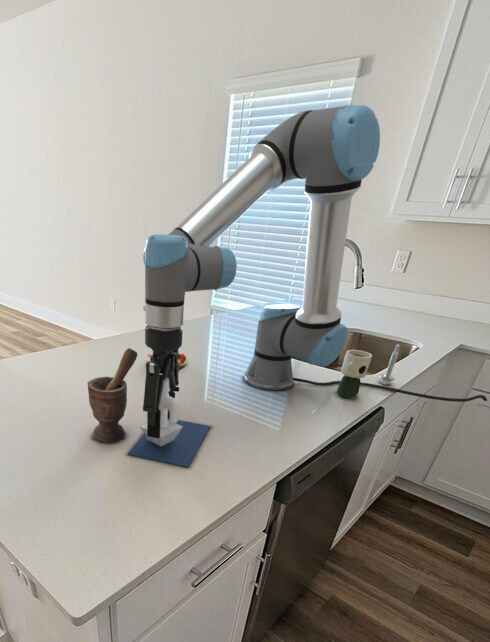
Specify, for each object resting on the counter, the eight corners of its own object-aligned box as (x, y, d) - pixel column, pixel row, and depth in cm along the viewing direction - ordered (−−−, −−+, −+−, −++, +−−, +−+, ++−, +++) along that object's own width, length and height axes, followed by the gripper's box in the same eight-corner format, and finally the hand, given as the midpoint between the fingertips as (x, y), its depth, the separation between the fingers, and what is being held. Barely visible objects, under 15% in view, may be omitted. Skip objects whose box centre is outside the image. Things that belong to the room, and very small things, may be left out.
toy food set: (173, 373, 132) (173, 363, 130) (140, 364, 137) (140, 355, 136) (193, 362, 142) (194, 353, 140) (162, 354, 147) (162, 345, 145)
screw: (378, 385, 132) (375, 379, 136) (393, 387, 131) (390, 381, 135) (392, 345, 125) (389, 340, 128) (409, 347, 124) (405, 342, 128)
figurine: (164, 453, 90) (166, 390, 81) (135, 437, 95) (135, 376, 86) (185, 442, 94) (190, 381, 86) (157, 428, 100) (158, 369, 91)
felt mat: (209, 427, 103) (209, 426, 102) (187, 467, 87) (187, 466, 87) (158, 417, 106) (158, 416, 105) (127, 454, 90) (127, 453, 90)
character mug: (349, 404, 119) (363, 360, 111) (327, 396, 122) (339, 353, 115) (365, 394, 125) (379, 352, 118) (343, 387, 129) (355, 346, 121)
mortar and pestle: (116, 419, 104) (112, 340, 92) (142, 429, 100) (142, 348, 88) (84, 436, 96) (76, 353, 84) (112, 448, 92) (107, 362, 80)
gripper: (164, 311, 89) (161, 405, 102) (123, 338, 72) (127, 446, 85) (196, 316, 88) (190, 410, 101) (163, 343, 70) (160, 453, 83)
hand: (161, 426), depth 93 cm, fingers closed on figurine, 9 cm apart
